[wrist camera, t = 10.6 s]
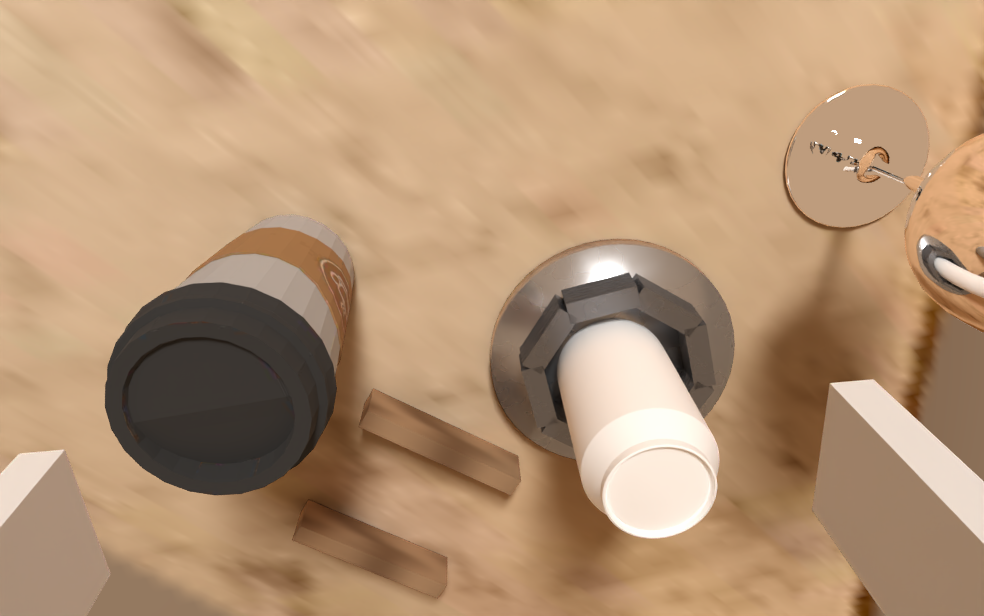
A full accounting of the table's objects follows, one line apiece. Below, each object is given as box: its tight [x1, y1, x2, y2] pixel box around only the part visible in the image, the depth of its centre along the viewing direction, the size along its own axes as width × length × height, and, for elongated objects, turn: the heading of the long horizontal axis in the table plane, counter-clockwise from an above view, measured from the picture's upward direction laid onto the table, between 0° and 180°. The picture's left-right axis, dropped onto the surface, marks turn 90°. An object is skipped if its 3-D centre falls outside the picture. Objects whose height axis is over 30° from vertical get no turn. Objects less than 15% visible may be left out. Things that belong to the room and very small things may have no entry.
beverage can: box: [557, 319, 719, 539], centre depth 36 cm, size 6×6×12 cm
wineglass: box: [785, 84, 984, 333], centre depth 29 cm, size 8×8×20 cm
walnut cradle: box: [292, 389, 521, 599], centre depth 45 cm, size 10×10×2 cm
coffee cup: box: [105, 215, 354, 495], centre depth 33 cm, size 8×8×15 cm
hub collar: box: [490, 239, 734, 460], centre depth 41 cm, size 14×14×3 cm
